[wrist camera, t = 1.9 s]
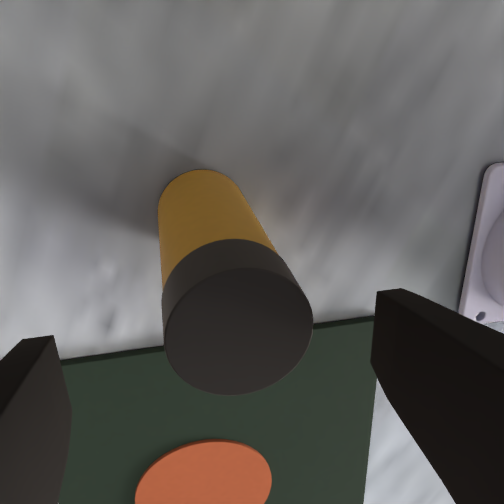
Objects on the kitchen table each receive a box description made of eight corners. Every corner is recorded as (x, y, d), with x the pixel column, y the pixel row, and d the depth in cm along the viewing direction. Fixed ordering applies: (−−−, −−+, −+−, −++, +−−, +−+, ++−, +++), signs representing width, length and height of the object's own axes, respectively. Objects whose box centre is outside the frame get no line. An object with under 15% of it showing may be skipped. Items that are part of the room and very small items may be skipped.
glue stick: (244, 164, 18) (316, 259, 10) (247, 247, 19) (311, 384, 12) (151, 171, 17) (155, 278, 10) (161, 256, 19) (172, 407, 11)
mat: (379, 314, 22) (385, 321, 22) (357, 533, 29) (361, 542, 29) (20, 366, 20) (17, 375, 19) (88, 594, 26) (87, 605, 26)
